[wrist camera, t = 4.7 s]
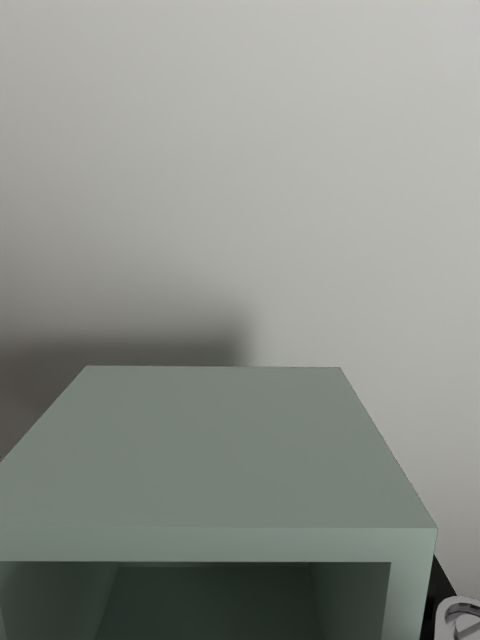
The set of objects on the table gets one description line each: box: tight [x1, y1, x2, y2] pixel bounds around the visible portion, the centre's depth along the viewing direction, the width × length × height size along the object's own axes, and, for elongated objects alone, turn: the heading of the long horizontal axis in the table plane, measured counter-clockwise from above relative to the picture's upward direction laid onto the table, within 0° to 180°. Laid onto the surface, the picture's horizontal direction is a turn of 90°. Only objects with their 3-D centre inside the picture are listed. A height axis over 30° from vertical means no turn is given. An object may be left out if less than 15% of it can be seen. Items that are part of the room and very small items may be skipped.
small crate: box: [0, 365, 438, 640], centre depth 10 cm, size 7×7×6 cm
